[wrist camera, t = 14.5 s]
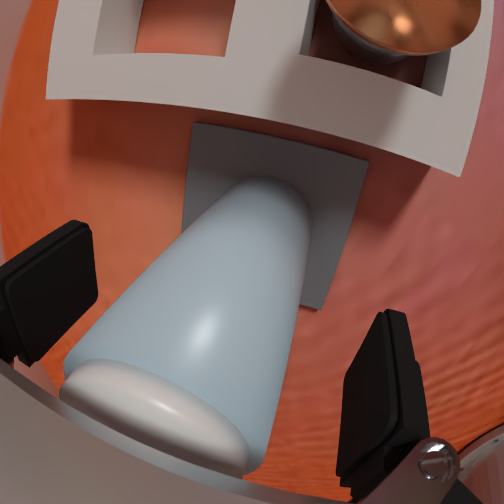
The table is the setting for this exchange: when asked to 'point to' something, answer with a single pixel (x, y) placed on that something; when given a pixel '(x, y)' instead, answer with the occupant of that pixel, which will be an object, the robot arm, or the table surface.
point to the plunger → (402, 26)
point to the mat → (289, 170)
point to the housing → (276, 77)
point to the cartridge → (203, 334)
